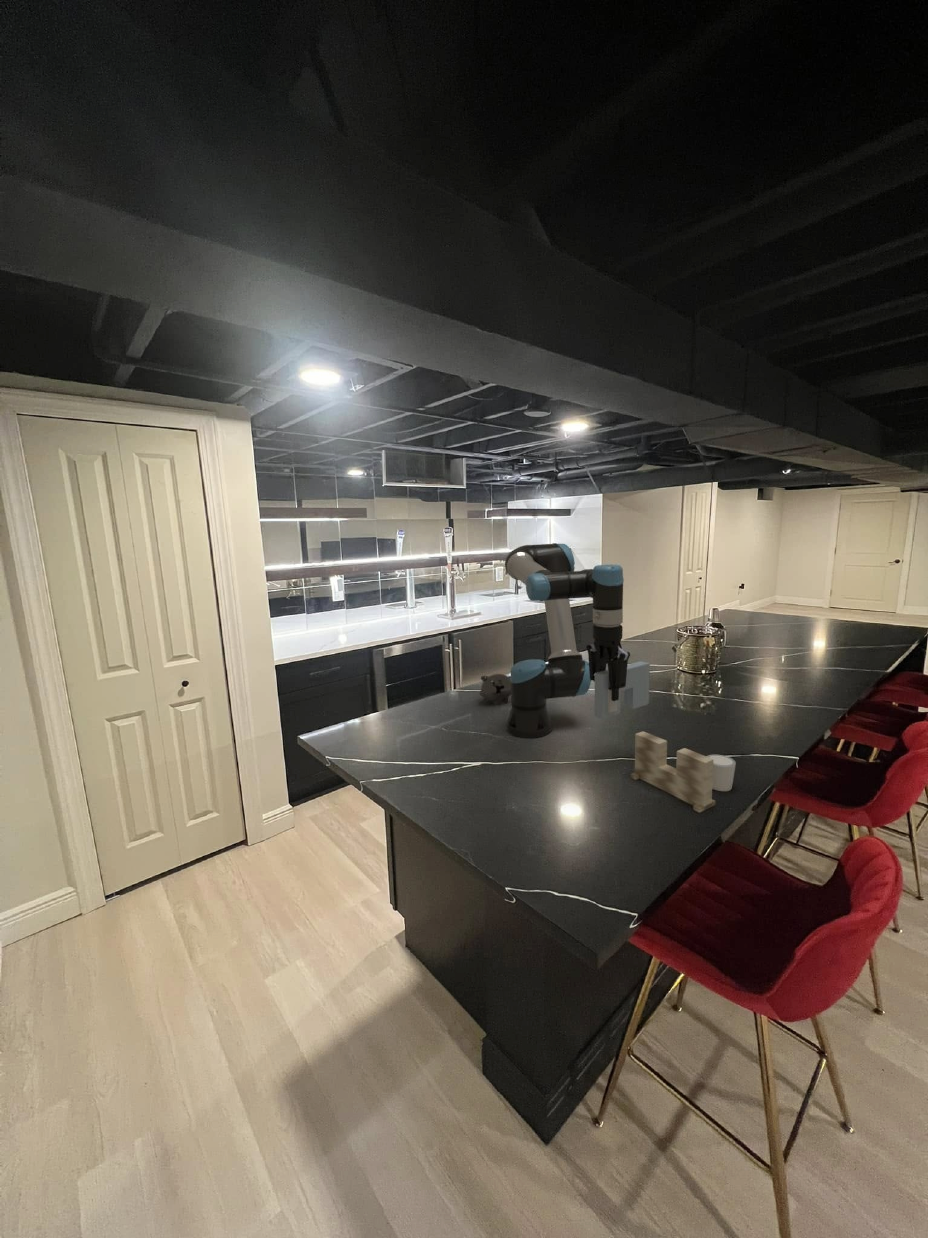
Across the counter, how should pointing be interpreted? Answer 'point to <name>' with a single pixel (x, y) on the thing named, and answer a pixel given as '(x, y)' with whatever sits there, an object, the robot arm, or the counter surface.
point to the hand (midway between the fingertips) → (607, 709)
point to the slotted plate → (633, 690)
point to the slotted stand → (674, 771)
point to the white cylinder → (722, 772)
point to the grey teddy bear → (496, 688)
